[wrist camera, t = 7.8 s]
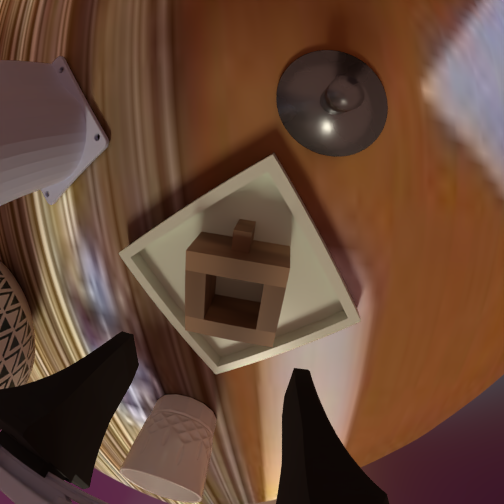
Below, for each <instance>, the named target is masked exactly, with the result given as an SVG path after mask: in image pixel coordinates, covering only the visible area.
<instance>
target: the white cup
mask: <svg viewBox="0 0 504 504" xmlns="http://www.w3.org/2000/svg"><path fill="white" fill-rule="evenodd" d="M216 421H217V419H216V417H215V415H214V412H213V411H212V410H211V409H210V408H208V407H207V406H206V405H205V404H203V403H201V402H199V401H197V400H195V399H193V398H191V397H187V396H183V395H178V394H170V395H164V396H162V397H161V398H159V399H158V400H157V402H156V404H155V406H154V408H153V410H152V412H151V414H150V416H149V417H148V418H147V420H146V421H145V423H144V425H143V427H142V429H141V431H140V432H139V434H138V436H137V438H136V439H135V441H134V443H133V445H132V447H131V449H130V451H129V453H128V455H127V457H126V459H125V461H124V463H123V465H122V467H121V468H120V473H121V474H122V475H123V476H124V477H125V478H126V479H127V480H129V481H130V482H131V483H133V484H135V485H137V486H138V487H140V488H142V489H144V490H146V491H149V492H151V493H154V494H156V495H159V496H162V497H165V498H168V499H172V500H176V501H182V502H192V503H193V502H200V501H201V500H202V496H203V491H204V486H205V481H206V477H207V472H208V467H209V462H210V457H211V451H212V445H213V435H214V430H215V425H216Z"/></svg>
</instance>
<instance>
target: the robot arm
mask: <svg viewBox="0 0 504 504" xmlns="http://www.w3.org/2000/svg"><path fill="white" fill-rule="evenodd" d="M63 68H64V70H63ZM62 71H63V72H62ZM98 134H99V135H100V139H99V140H98V138H97V137H98ZM108 144H109V140H108V137H107V136H106V134H105V132H104V130H103V129H102V127H101V125H100V123H99V122H98V120H97V118H96V116H95V115H94V113H93V111H92V109H91V107H90V106H89V104H88V102H87V100H86V98H85V96H84V95H83V93H82V91H81V89H80V87H79V85H78V83H77V81H76V79H75V77H74V76H73V74H72V72H71V70H70V68H69V66H68V64H67V62H66V60H65V58H64V57H62V56H59V57H57V58H56V59H55V60H54V62H53V63H52V64H48V63H39V62H28V61H13V60H0V206H1V205H3V204H6V203H8V202H10V201H13V200H15V199H17V198H20V197H22V196H25V195H27V194H30V193H32V192H35V191H38V190H40V189H41V191H42V193H43V195H44V197H45V198H46V200H47V202H48V203H49V204H50V205H52V204H54V203H56V202H57V200H58V199H59V198H60V197H61V196H62V194H63V193H64V192H65V191H66V190H67V189H68V188H69V186H70V185H71V184H72V183H73V182H74V181H75V180H76V179H77V178H78V177H79V175H80V174H81V173H82V172H83V171H84V170H85V169H86V168H87V167H88V166H89V165H90V164H91V163H92V162H93V161H94V160H95V159H96V158H97V157H98V156H99V155H100V154H101V153H102V152H103V151H104V150H105V149H106V148H107V147H108ZM48 192H49V193H48ZM138 366H139V363H138V358H137V353H136V347H135V342H134V336H133V334H129V333H126V332H123V331H122V332H120V333H119V334H117V335H116V336H114V337H113V338H112V339H110V340H109V341H107V342H106V343H104V344H103V345H102V346H100V347H99V348H97V349H96V350H94V351H93V352H91V353H90V354H88V355H87V356H85V357H84V358H82V359H81V360H79V361H77V362H76V363H74V364H72V365H71V366H69V367H67V368H65V369H63V370H61V371H59V372H57V373H55V374H53V375H50V376H48V377H45V378H43V379H40V380H37V381H35V382H31V383H28V384H25V385H21V386H16V387H11V388H5V389H0V428H1V429H2V431H1V432H0V490H1V491H2V492H3V493H4V494H6V496H8V497H9V498H10V499H11V500H12V501H13V502H14V503H15V504H72V501H71V499H72V500H74V501H75V502H77V503H79V504H108V503H106V502H103V501H102V500H100V499H97V498H95V497H93V496H91V495H89V494H87V493H85V492H83V491H82V490H80V489H78V488H76V487H74V486H72V485H70V484H69V483H73V484H75V485H76V486H78V487H80V488H82V489H86V488H89V487H90V482H91V477H92V473H93V469H94V465H95V462H96V458H97V455H98V452H99V449H100V446H101V443H102V440H103V437H104V435H105V432H106V430H107V427H108V425H109V422H110V420H111V418H112V416H113V415H114V413H115V411H116V409H117V408H118V406H119V404H120V402H121V401H122V399H123V397H124V395H125V394H126V392H127V390H128V388H129V387H130V385H131V383H132V381H133V378H134V376H135V373H136V371H137V368H138ZM64 480H66V481H68V482H69V483H67V482H65V481H64ZM276 504H389V501H388V497H387V494H386V493H385V492H384V491H382V490H381V489H380V488H379V487H378V486H377V485H376V484H375V483H374V482H373V481H372V480H371V479H370V478H369V477H368V476H367V475H366V474H365V473H364V472H363V470H362V469H361V468H360V467H359V466H358V464H357V463H356V462H355V461H354V459H353V458H352V457H351V456H350V454H349V453H348V451H347V450H346V449H345V447H344V446H343V444H342V443H341V441H340V439H339V438H338V436H337V434H336V433H335V431H334V429H333V427H332V425H331V423H330V422H329V420H328V418H327V415H326V413H325V411H324V409H323V407H322V404H321V402H320V400H319V397H318V395H317V392H316V389H315V387H314V384H313V381H312V377H311V374H310V371H309V370H306V369H297V368H294V370H293V373H292V376H291V379H290V382H289V385H288V388H287V390H286V393H285V396H284V404H283V413H282V467H281V475H280V482H279V489H278V495H277V501H276Z"/></svg>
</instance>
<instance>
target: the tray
mask: <svg viewBox="0 0 504 504" xmlns="http://www.w3.org/2000/svg"><path fill="white" fill-rule="evenodd" d="M239 219H243V220H249V221H256V225H255V232H254V239H253V240H256V241H262V242H268V243H274V244H280V245H286V246H290V272H289V276H288V281H287V286H286V290H285V295H284V300H283V304H282V309H281V313H280V317H279V322H278V326H277V330H276V335H275V339H274V343H273V347H267V346H261V345H255V344H249V343H244V342H238V341H233V340H228V339H223V338H218V337H213V336H208V335H204V334H199V333H195V332H190V331H186V330H185V262H186V250H187V248H188V247H189V246H190V245H191V243H192V242H193V241H194V240H195V239H196V238H197V236H198V235H199V234H200V233H201V232H207V233H214V234H220V235H226V236H232V237H233V230H234V228H235V226H236V224H237V223H238V221H239ZM119 255H120V256H121V258H122V259H123V261H124V262H125V264H126V265H127V266H128V268H129V269H130V271H131V272H132V273H133V275H134V276H135V277H136V279H137V280H138V281H139V283H140V284H141V286H142V287H143V288H144V290H145V291H146V292H147V293H148V295H149V296H150V297H151V299H152V300H153V301H154V303H155V304H156V305H157V306H158V308H159V309H160V310H161V311H162V313H163V314H164V315H165V316H166V318H167V319H168V320H169V321H170V323H171V324H172V325H173V326H174V327H175V329H176V330H177V331H178V332H179V333H180V335H181V336H182V337H183V338H184V339H185V341H186V342H187V343H188V344H189V345H190V346H191V347H192V349H193V350H194V351H195V352H196V353H197V354H198V355H199V357H200V358H201V359H202V360H203V361H204V362H205V363H206V364H207V365H208V367H209V368H210V369H211V370H212V371H213V372H214V373H215V374H219V373H222V372H226V371H229V370H232V369H236V368H239V367H242V366H245V365H248V364H251V363H254V362H258V361H261V360H263V359H266V358H269V357H272V356H275V355H278V354H281V353H284V352H286V351H289V350H292V349H294V348H297V347H300V346H302V345H305V344H308V343H310V342H313V341H315V340H318V339H320V338H323V337H325V336H328V335H330V334H333V333H335V332H337V331H340V330H342V329H344V328H347V327H349V326H351V325H354V324H356V323H358V322H360V321H361V319H360V316H359V313H358V310H357V307H356V305H355V303H354V301H353V299H352V296H351V294H350V292H349V290H348V288H347V286H346V284H345V282H344V280H343V278H342V276H341V274H340V272H339V270H338V268H337V266H336V264H335V262H334V260H333V258H332V256H331V254H330V252H329V250H328V248H327V246H326V244H325V242H324V240H323V238H322V236H321V235H320V233H319V231H318V229H317V227H316V225H315V223H314V221H313V220H312V218H311V216H310V214H309V212H308V210H307V209H306V207H305V205H304V203H303V201H302V200H301V198H300V196H299V194H298V192H297V191H296V189H295V187H294V185H293V184H292V182H291V180H290V178H289V177H288V175H287V173H286V172H285V170H284V168H283V167H282V165H281V163H280V161H279V160H278V158H277V156H276V155H275V153H273V154H271V155H269V156H267V157H265V158H264V159H262V160H260V161H258V162H257V163H255V164H253V165H252V166H250V167H248V168H246V169H245V170H243V171H241V172H240V173H238V174H236V175H235V176H233V177H231V178H230V179H228V180H226V181H225V182H223V183H221V184H220V185H218V186H217V187H215V188H213V189H212V190H210V191H209V192H207V193H205V194H204V195H202V196H201V197H199V198H197V199H196V200H194V201H193V202H191V203H190V204H188V205H187V206H185V207H184V208H182V209H181V210H179V211H178V212H176V213H174V214H173V215H171V216H170V217H169V218H167V219H166V220H164V221H163V222H161V223H160V224H158V225H157V226H155V227H154V228H152V229H151V230H149V231H148V232H147V233H145V234H144V235H142V236H141V237H139V238H138V239H137V240H135V241H134V242H132V243H131V244H130V245H128V246H127V247H126V248H125V249H123V250H122V251H121V252H120V253H119ZM263 287H264V284H260V283H254V282H248V281H243V280H237V279H231V278H226V277H220V276H216V289H215V294H218V295H223V296H228V297H234V298H239V299H245V300H250V301H256V302H261V299H262V293H263Z"/></svg>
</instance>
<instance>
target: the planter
mask: <svg viewBox="0 0 504 504" xmlns="http://www.w3.org/2000/svg"><path fill="white" fill-rule="evenodd" d="M34 358H35V333H34V325H33V319H32V315H31V311H30V308H29V305H28V302H27V300H26V297H25V295H24V293H23V291H22V289H21V287H20V285H19V284H18V282H17V280H16V279H15V277H14V276H13V274H12V273H11V272H10V270H9V269H8V268H7V267H6V266H5V265H4V264H3V263H2V262H1V261H0V389H5V388H11V387H16V386H21V385H25V384H27V383H28V380H29V377H30V374H31V371H32V368H33V364H34ZM0 430H1V428H0Z"/></svg>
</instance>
